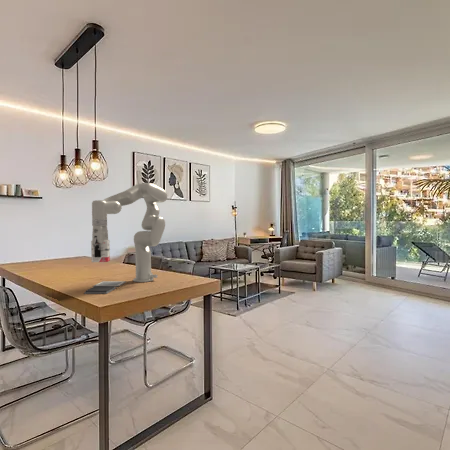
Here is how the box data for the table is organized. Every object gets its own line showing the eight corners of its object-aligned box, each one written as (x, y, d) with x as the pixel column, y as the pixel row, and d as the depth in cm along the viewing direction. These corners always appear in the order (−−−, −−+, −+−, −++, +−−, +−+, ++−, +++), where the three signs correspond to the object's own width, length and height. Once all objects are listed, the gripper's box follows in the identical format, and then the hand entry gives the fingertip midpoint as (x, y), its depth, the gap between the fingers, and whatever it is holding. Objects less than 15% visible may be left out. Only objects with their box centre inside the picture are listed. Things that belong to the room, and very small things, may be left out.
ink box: (110, 260, 167) (110, 239, 166) (107, 262, 162) (107, 240, 162) (94, 261, 166) (94, 239, 166) (91, 262, 161) (90, 240, 161)
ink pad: (115, 288, 170) (115, 285, 170) (106, 293, 158) (106, 290, 158) (94, 288, 170) (94, 285, 170) (84, 293, 158) (84, 290, 158)
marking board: (126, 281, 188) (126, 281, 188) (118, 286, 175) (118, 285, 175) (102, 281, 189) (102, 281, 189) (93, 286, 176) (93, 285, 176)
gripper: (99, 223, 155) (100, 258, 155) (112, 222, 172) (113, 254, 172) (85, 223, 155) (85, 258, 155) (99, 223, 172) (100, 254, 172)
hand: (100, 256), depth 164 cm, fingers closed on ink box, 5 cm apart
